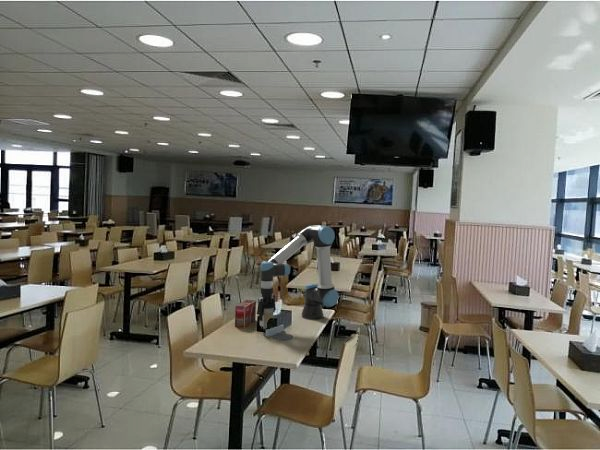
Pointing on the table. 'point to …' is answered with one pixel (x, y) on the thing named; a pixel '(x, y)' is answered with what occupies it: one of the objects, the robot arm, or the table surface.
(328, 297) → the robot arm
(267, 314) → the coffee cup
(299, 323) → the table surface
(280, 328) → the grey bar handle
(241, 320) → the ice cream box
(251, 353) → the table surface
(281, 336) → the coaster
